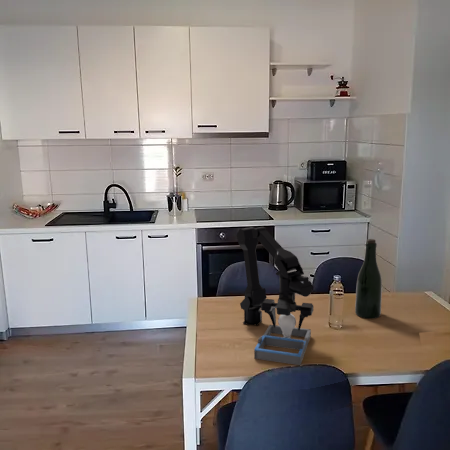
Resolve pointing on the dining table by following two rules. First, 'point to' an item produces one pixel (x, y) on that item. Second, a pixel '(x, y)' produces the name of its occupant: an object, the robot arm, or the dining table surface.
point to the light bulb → (287, 324)
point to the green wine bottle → (369, 285)
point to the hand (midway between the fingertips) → (286, 328)
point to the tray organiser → (282, 345)
